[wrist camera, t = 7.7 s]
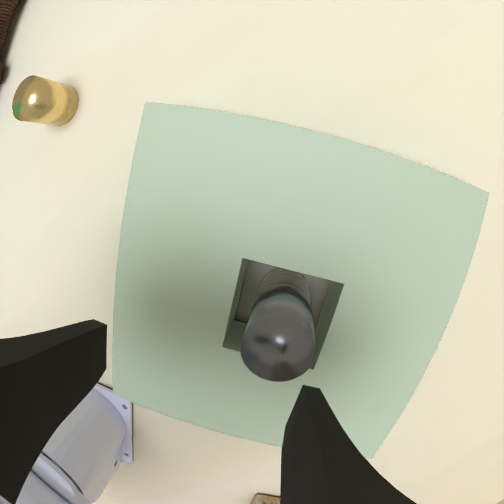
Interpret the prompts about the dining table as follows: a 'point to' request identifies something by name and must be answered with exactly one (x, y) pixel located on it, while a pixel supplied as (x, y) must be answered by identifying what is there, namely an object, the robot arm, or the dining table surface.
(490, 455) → the dining table surface
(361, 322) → the collar plate
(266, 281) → the tall pin
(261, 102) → the dining table surface
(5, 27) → the bolt
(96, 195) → the dining table surface
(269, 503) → the decorative jar
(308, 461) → the robot arm
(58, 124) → the short pin
